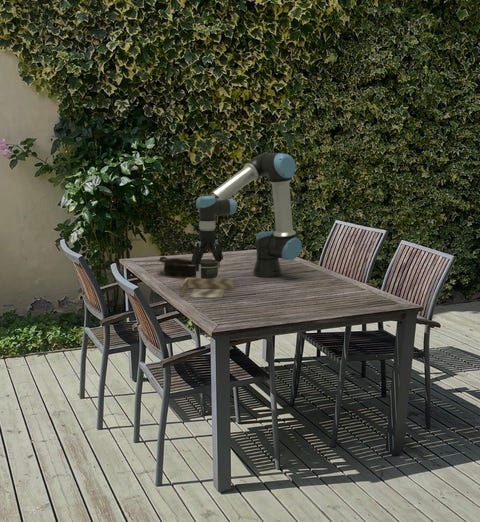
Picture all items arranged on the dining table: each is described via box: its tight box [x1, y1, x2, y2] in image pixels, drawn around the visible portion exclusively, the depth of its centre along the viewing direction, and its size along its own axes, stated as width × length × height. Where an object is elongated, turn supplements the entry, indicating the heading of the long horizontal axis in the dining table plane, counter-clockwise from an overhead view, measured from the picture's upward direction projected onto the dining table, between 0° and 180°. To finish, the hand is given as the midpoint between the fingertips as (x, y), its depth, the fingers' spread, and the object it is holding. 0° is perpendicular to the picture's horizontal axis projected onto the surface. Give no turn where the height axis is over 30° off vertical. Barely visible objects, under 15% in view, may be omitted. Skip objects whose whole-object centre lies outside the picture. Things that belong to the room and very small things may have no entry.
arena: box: [179, 277, 234, 299], centre depth 353 cm, size 23×20×5 cm
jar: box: [200, 258, 219, 279], centre depth 349 cm, size 10×10×8 cm
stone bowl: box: [158, 256, 196, 278], centre depth 394 cm, size 25×25×9 cm
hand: (207, 276), depth 350 cm, fingers closed on jar, 10 cm apart
